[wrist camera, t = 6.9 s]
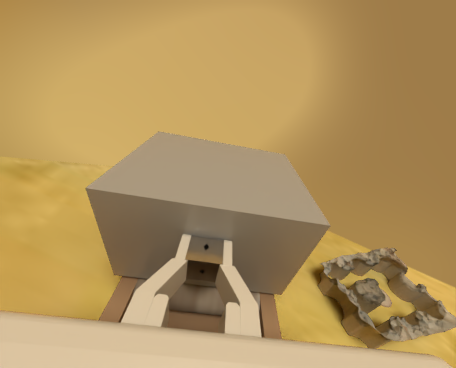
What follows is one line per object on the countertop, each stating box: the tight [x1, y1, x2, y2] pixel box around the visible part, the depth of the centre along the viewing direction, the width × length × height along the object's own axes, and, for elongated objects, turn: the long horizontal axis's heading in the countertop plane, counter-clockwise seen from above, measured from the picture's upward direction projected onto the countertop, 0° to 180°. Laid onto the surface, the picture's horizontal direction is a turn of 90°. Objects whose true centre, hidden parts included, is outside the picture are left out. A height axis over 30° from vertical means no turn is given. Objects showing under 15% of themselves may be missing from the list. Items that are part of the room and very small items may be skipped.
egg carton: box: [318, 248, 456, 349], centre depth 17 cm, size 11×8×4 cm
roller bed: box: [99, 276, 282, 339], centre depth 14 cm, size 22×13×9 cm, turn 178°
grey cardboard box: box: [86, 132, 330, 295], centre depth 15 cm, size 10×13×8 cm
